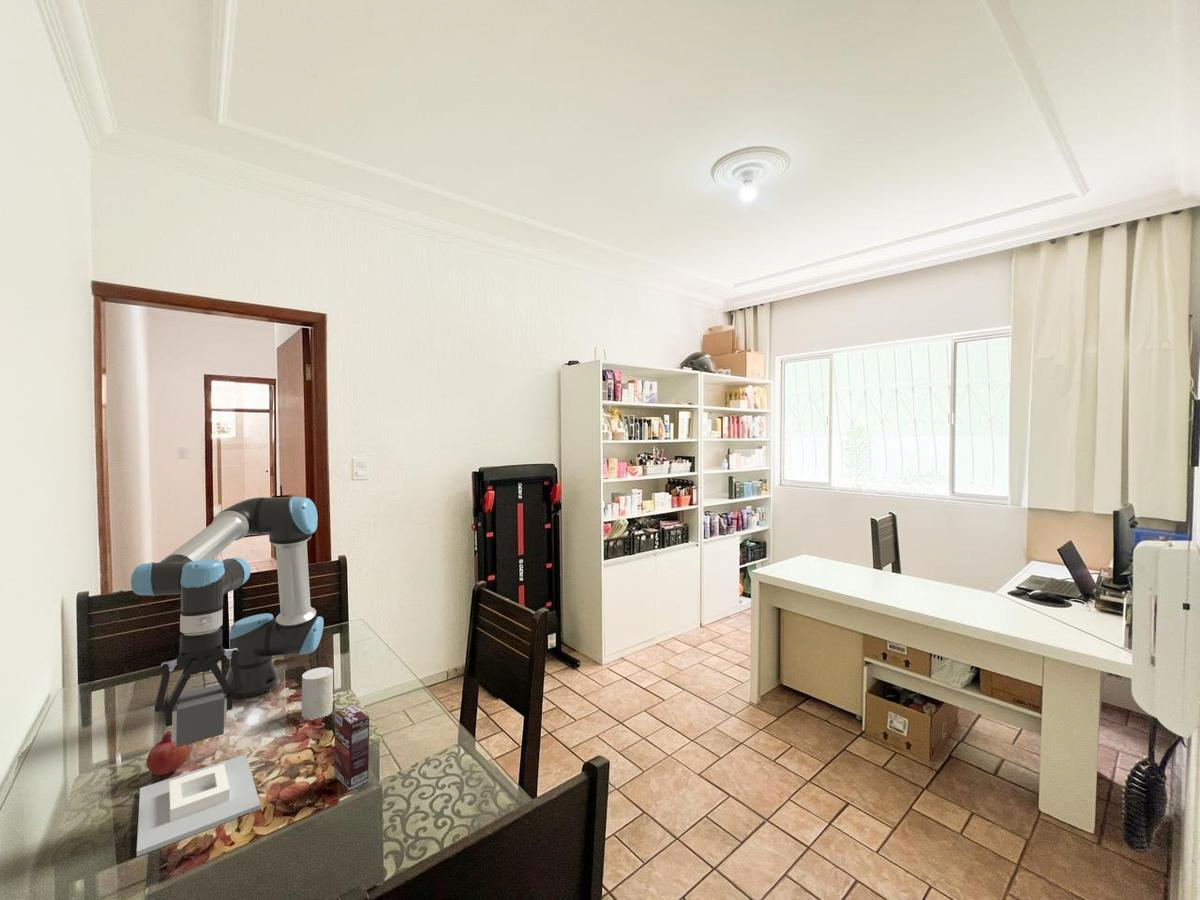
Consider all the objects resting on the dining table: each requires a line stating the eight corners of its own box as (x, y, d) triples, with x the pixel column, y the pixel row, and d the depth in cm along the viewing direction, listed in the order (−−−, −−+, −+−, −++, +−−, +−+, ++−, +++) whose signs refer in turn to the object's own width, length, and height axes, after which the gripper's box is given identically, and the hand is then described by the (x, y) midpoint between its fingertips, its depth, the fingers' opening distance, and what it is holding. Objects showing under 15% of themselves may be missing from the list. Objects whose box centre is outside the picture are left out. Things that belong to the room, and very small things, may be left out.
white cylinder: (318, 721, 146) (319, 680, 146) (294, 718, 147) (295, 677, 147) (338, 707, 154) (339, 668, 154) (315, 704, 155) (316, 666, 155)
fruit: (139, 787, 117) (140, 744, 117) (154, 767, 124) (154, 726, 124) (183, 778, 120) (183, 737, 120) (194, 759, 127) (195, 720, 127)
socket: (140, 792, 115) (140, 777, 115) (246, 758, 128) (246, 744, 128) (136, 856, 97) (136, 838, 97) (260, 809, 110) (260, 793, 110)
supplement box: (332, 776, 121) (333, 711, 122) (353, 767, 125) (354, 703, 125) (348, 792, 116) (349, 723, 116) (369, 782, 120) (370, 715, 120)
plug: (175, 739, 113) (176, 694, 113) (219, 727, 118) (220, 684, 118) (176, 758, 106) (177, 709, 106) (223, 744, 112) (224, 698, 112)
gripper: (138, 646, 103) (135, 757, 103) (259, 624, 117) (257, 722, 116) (139, 636, 109) (136, 741, 108) (255, 616, 122) (253, 710, 122)
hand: (199, 731), depth 112 cm, fingers closed on plug, 8 cm apart
